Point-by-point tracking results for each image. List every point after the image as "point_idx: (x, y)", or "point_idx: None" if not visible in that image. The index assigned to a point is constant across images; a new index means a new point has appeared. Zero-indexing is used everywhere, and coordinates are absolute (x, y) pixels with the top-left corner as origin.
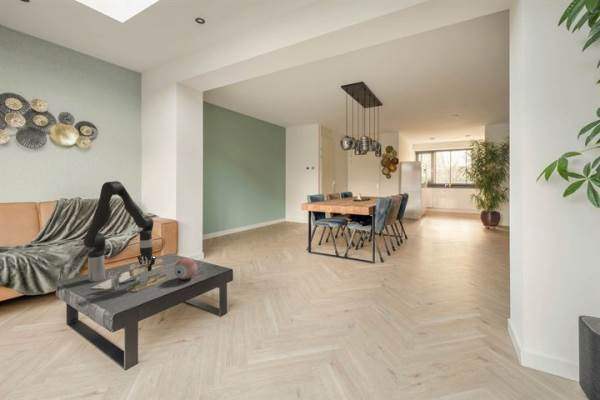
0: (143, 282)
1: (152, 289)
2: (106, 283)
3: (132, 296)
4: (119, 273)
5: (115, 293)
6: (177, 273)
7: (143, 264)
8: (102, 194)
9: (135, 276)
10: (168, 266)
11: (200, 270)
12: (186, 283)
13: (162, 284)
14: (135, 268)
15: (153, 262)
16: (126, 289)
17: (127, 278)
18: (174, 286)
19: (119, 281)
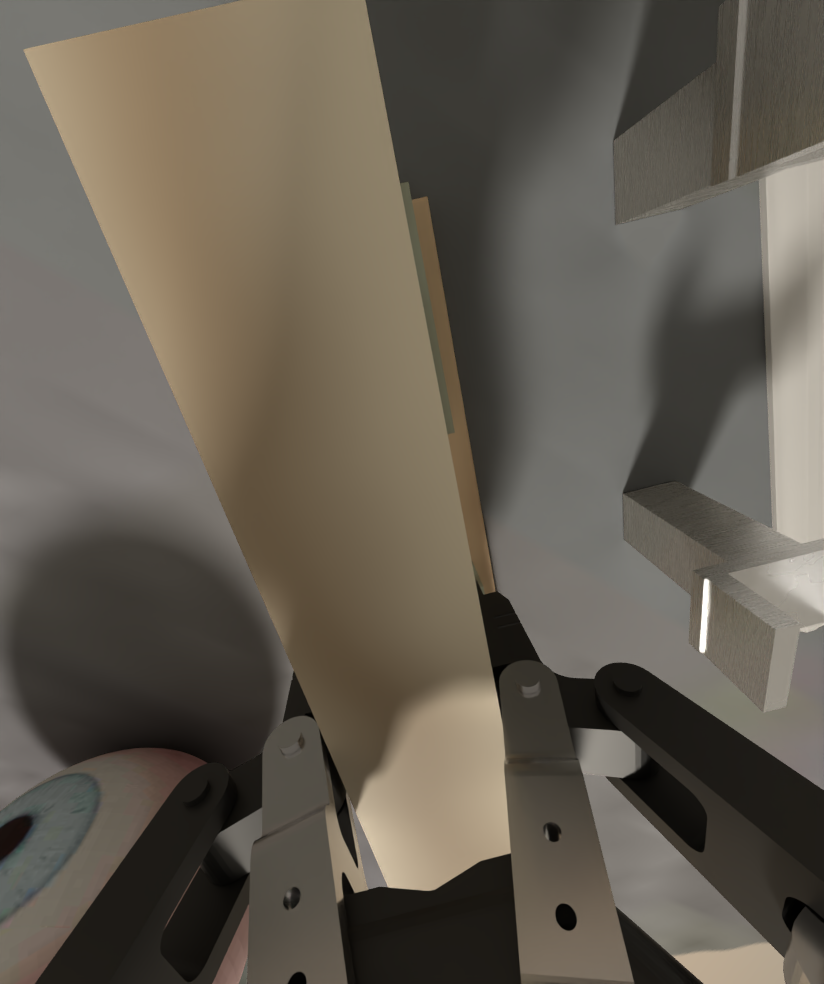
0: (459, 494)
1: (140, 430)
2: None
3: None
4: (819, 80)
5: (465, 30)
6: (55, 806)
7: (475, 698)
8: None
9: (666, 513)
10: (641, 831)
11: None
12: (12, 719)
13: (213, 581)
14: (240, 285)
15: (197, 910)
16: (429, 213)
17: (782, 476)
18: (20, 616)
19: (796, 357)
